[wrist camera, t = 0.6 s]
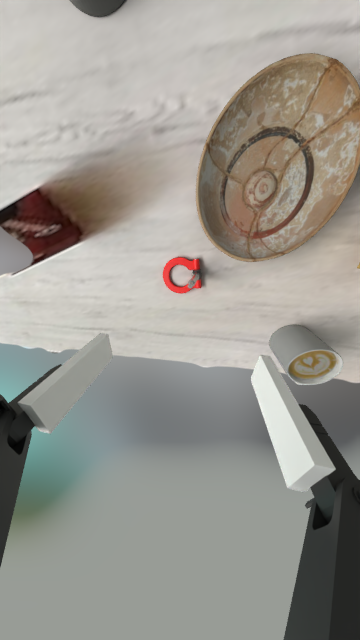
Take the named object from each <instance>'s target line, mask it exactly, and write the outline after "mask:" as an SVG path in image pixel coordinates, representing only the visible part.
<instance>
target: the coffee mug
mask: <svg viewBox="0 0 360 640" xmlns="http://www.w3.org/2000/svg"><path fill="white" fill-rule="evenodd" d="M269 346H270V348H271V350H272V351H273V353H274V355H275V356H276V358H277V359H278V361H279V362H280V364H281V366H282V367H283V369H284V370H285V372H286V373H287V375H288V376H289V378H290V379H291V380H293V381H294V382H295V383H296V384H298V385H315V384H320V383H324V382H326V381H329V380H331V379H332V378H334V377H335V376H337V375H338V374H339V373H340V371H341V370H342V367H343V360H342V358H341V356H340V355H339V354H338V353H336V352H335V351H334V350H333V349H332V348H330V347H329V346H328V345H327V344H325V343H324V342H323V341H322V340H320V339H319V338H318V337H317V336H316V335H314V334H313V333H312V332H311V331H309V330H308V329H307V328H305V327H303V326H300V325H288V326H285V327H282V328H280V329H278V330H277V331H276V332H274V333H273V335H272V336H271V338H270V340H269Z"/></svg>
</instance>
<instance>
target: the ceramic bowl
mask: <svg viewBox="0 0 360 640" xmlns="http://www.w3.org/2000/svg"><path fill="white" fill-rule="evenodd" d="M359 165H360V88H359V85H358V83H357V81H356V79H355V78H354V76H353V75H352V74H351V72H350V71H349V70H348V69H347V68H346V67H345V66H344V65H343V64H342V63H341V62H339V61H338V60H336V59H333V58H330V57H327V56H324V55H319V54H313V53H309V54H299V55H295V56H291V57H287V58H284V59H282V60H280V61H277V62H275V63H273V64H271V65H269V66H268V67H266V68H265V69H263V70H261V71H260V72H259V73H257V74H256V75H255V76H253V77H252V78H251V79H249V80H248V81H247V82H246V83H245V84H244V85H243V86H242V87H241V88H240V89H239V90H238V91H237V92H236V93H235V95H234V96H233V97H232V98H231V99H230V101H229V102H228V103H227V105H226V106H225V107H224V109H223V110H222V112H221V114H220V115H219V117H218V119H217V120H216V122H215V124H214V125H213V127H212V129H211V131H210V133H209V136H208V138H207V140H206V143H205V146H204V149H203V152H202V155H201V159H200V163H199V167H198V173H197V181H196V204H197V211H198V216H199V219H200V222H201V225H202V228H203V230H204V232H205V234H206V235H207V237H208V239H209V240H210V241H211V242H212V243H213V245H214V246H216V247H217V248H218V249H219V250H220V251H222V252H223V253H225V254H226V255H228V256H230V257H232V258H234V259H237V260H240V261H246V262H256V261H264V260H269V259H273V258H276V257H279V256H282V255H285V254H287V253H289V252H291V251H293V250H294V249H296V248H298V247H299V246H301V245H302V244H304V243H305V242H306V241H308V240H309V239H310V238H311V237H313V236H314V235H315V234H316V233H317V232H318V231H319V230H320V229H321V228H322V227H323V226H324V225H325V224H326V223H327V222H328V221H329V219H330V218H331V217H332V216H333V214H334V213H335V212H336V211H337V209H338V208H339V206H340V205H341V203H342V201H343V200H344V198H345V197H346V195H347V193H348V191H349V189H350V187H351V185H352V183H353V181H354V179H355V177H356V174H357V171H358V168H359Z"/></svg>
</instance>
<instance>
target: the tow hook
mask: <svg viewBox="0 0 360 640" xmlns="http://www.w3.org/2000/svg"><path fill="white" fill-rule="evenodd" d="M178 264H180V265H184V266H186V267H187V268H188V269H189V270H193V269H194V270H193V275H192V278H191V279H190V281H189V283H188V284H187V285H186V286H184V287H178V286H175V285H174V284H173V283H172V282H171V280H170V276H169V275H170V270H171V269H172V267H173V266H175V265H178ZM163 279H164V282H165V284H166V286H167V287H168V288H169V289H170V290H172V291H173V292H176V293H186V292H188V291H190V290H191V289H192V288H201V271H200V264H199V259H193V260H192V261H190V260H188V259H186V258H182V257H178V258H174V259H172V260H170V261H169V262H168V263H167V264H166V266H165V267H164V271H163Z"/></svg>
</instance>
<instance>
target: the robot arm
mask: <svg viewBox="0 0 360 640" xmlns="http://www.w3.org/2000/svg"><path fill="white" fill-rule="evenodd" d="M70 1H71V2H72V3H73V4H74V5H75V6H76V7H77V8H78V9H79V10H81V11H82V12H84V13H86V14H88V15H91V16H98V17H99V16H105V15H108V14H110V13H112V12H113V11H115V10H116V9H117V8H118V7H119V6H120V5H121V4H122V3H123V2H124V0H70ZM112 358H113V355H112V350H111V345H110V341H109V336H108V334H103V333H100V334H99V335H97V336H96V337H95V338H94V339H93V340H91V341H90V342H89V343H88V344H87V345H86V346H84V347H83V348H82V349H81V350H80V351H78V352H77V353H76V354H75V355H74V356H72V357H71V358H70V359H69V360H68V361H66V362H65V363H64V364H63V365H61V364H60V365H58V366H56V367H54V368H52V369H51V370H50V371H48V372H47V373H46V374H44V376H43V377H41V378H39V379H38V380H37V382H34V383H33V384H32V385H31V386H29V387H28V388H27V389H26V390H25V391H23V392H22V393H21V394H20V395H18V396H17V397H16V398H15V399H13V400H12V401H11V402H9V403H7V401H6V400H5V399H4V397H3V396H2V395H0V566H1V562H2V558H3V553H4V549H5V545H6V541H7V536H8V532H9V528H10V524H11V520H12V515H13V511H14V507H15V503H16V498H17V495H18V490H19V486H20V482H21V477H22V473H23V469H24V465H25V460H26V456H27V452H28V448H29V444H30V440H31V435H32V434H31V429H32V428H33V427H34V426H36V427H37V429H38V430H39V431H41V432H45V433H52V431H53V430H54V429H55V428H56V426H57V425H58V424H59V423H60V422H61V420H62V419H63V418H64V416H65V415H66V414H67V413H68V412H69V411H70V409H71V408H72V407H73V406H74V404H75V403H76V402H77V401H78V400H79V398H80V397H81V396H82V395H83V393H84V392H85V391H86V390H87V389H88V387H89V386H90V385H91V384H92V382H93V381H94V380H95V379H96V377H97V376H98V375H99V374H100V373H101V372H102V370H103V369H104V368H105V367H106V365H107V364H108V363H109V362H110V360H111V359H112ZM251 381H252V384H253V387H254V390H255V393H256V396H257V399H258V402H259V405H260V408H261V411H262V413H263V417H264V420H265V423H266V426H267V429H268V432H269V434H270V438H271V440H272V443H273V446H274V449H275V452H276V455H277V458H278V461H279V464H280V467H281V470H282V473H283V476H284V478H285V482H286V484H287V487H288V488H289V489H293V490H297V491H302V492H306V491H307V490H308V489H310V488H311V490H312V492H313V495H314V498H313V499H311V500H310V501H308V502H307V503H306V505H305V506H306V508H309V507H311V510H310V515H309V520H308V525H307V529H306V534H305V539H304V544H303V549H302V554H301V558H300V563H299V568H298V573H297V578H296V583H295V588H294V592H293V597H292V602H291V607H290V612H289V617H288V622H287V626H286V631H285V636H284V640H360V480H358V479H357V477H356V476H355V475H354V474H353V472H352V470H351V469H350V467H349V466H348V464H347V463H346V461H345V460H344V458H343V456H342V455H341V453H340V452H339V450H338V449H337V447H336V446H335V444H334V442H333V441H332V439H331V438H330V437H329V436H328V433H327V432H326V430H325V429H324V427H322V424H321V423H320V421H319V419H318V418H317V416H316V415H315V414H314V413H313V412H312V411H311V410H310V409H309V408H308V407H307V406H306V405H300V404H298V403H297V402H296V400H295V398H294V396H293V395H292V393H291V391H290V390H289V388H288V386H287V384H286V383H285V381H284V379H283V378H282V376H281V374H280V372H279V371H278V369H277V367H276V365H275V364H274V362H273V360H272V359H271V357H270V356H264V355H260V357H259V359H258V362H257V364H256V367H255V369H254V372H253V374H252V377H251Z"/></svg>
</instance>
